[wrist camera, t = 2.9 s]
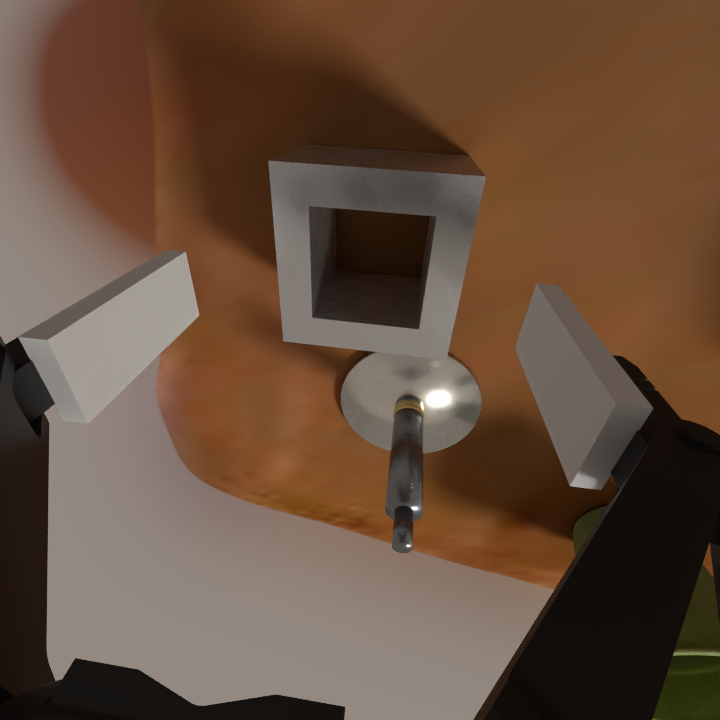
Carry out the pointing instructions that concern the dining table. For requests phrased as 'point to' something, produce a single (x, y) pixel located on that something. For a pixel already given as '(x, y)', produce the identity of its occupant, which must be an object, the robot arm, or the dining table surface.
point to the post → (409, 421)
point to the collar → (364, 290)
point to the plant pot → (684, 648)
